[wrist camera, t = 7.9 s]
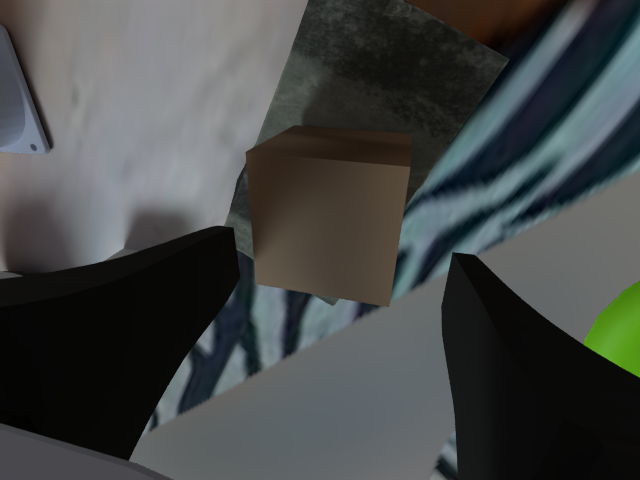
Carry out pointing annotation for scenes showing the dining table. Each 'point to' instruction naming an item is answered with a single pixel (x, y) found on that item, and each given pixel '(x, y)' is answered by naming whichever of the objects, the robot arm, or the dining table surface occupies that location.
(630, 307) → the wineglass
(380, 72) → the stone block
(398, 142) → the walnut cube
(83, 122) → the dining table surface
